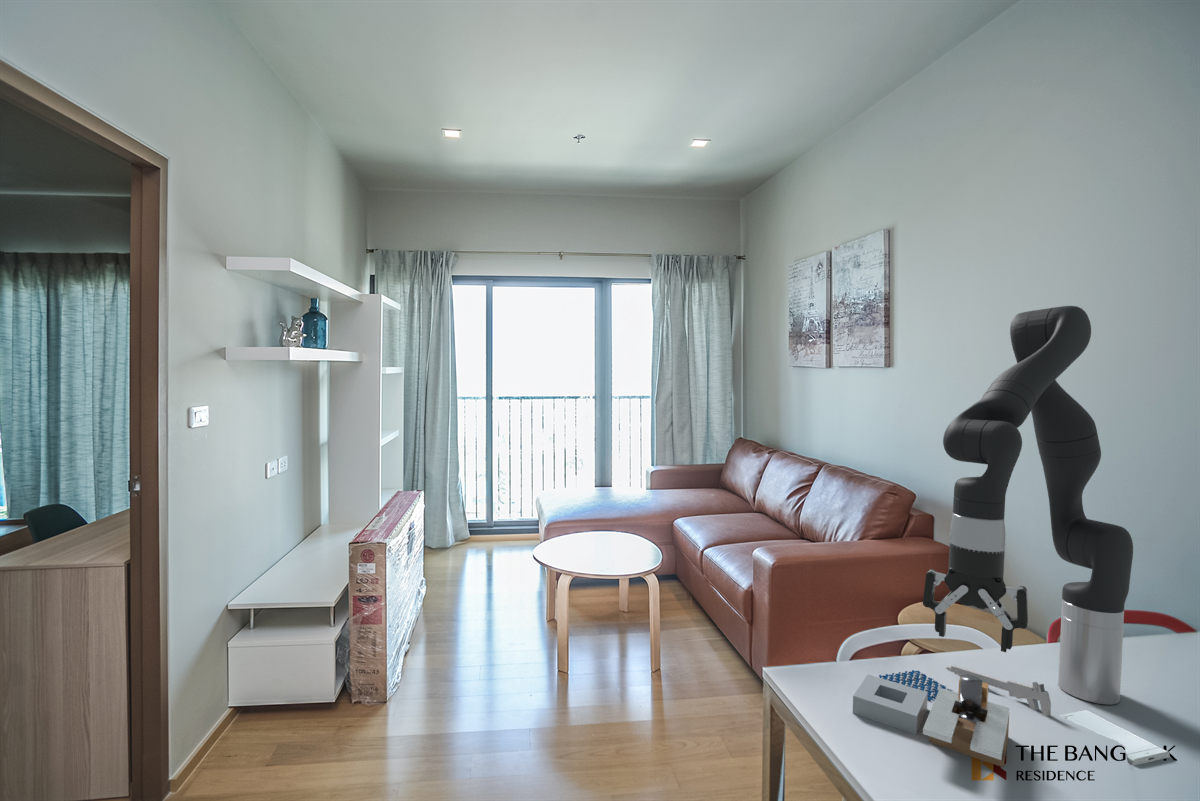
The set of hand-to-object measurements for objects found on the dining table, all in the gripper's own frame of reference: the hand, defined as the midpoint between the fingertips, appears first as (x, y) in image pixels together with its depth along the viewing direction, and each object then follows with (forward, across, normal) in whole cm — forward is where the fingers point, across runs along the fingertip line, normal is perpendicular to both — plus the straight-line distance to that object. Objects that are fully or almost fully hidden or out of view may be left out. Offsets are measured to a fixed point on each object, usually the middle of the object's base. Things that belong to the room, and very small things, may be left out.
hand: (972, 642), depth 97 cm
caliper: (+17, -2, -23) cm, 29 cm away
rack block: (+17, +12, -1) cm, 21 cm away
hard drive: (+18, -18, -18) cm, 31 cm away
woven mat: (+18, +10, -14) cm, 25 cm away
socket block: (+17, 0, 0) cm, 17 cm away
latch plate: (+12, 0, +3) cm, 12 cm away
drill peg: (+16, 0, 0) cm, 16 cm away
